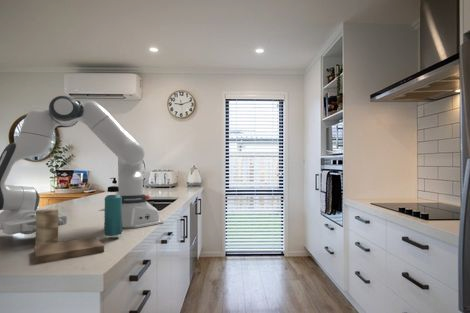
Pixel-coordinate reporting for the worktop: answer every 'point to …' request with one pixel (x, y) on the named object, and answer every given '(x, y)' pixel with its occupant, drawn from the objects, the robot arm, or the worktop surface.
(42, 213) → the oak block
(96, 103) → the robot arm
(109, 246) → the worktop surface
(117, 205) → the beverage bottle
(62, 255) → the walnut board
